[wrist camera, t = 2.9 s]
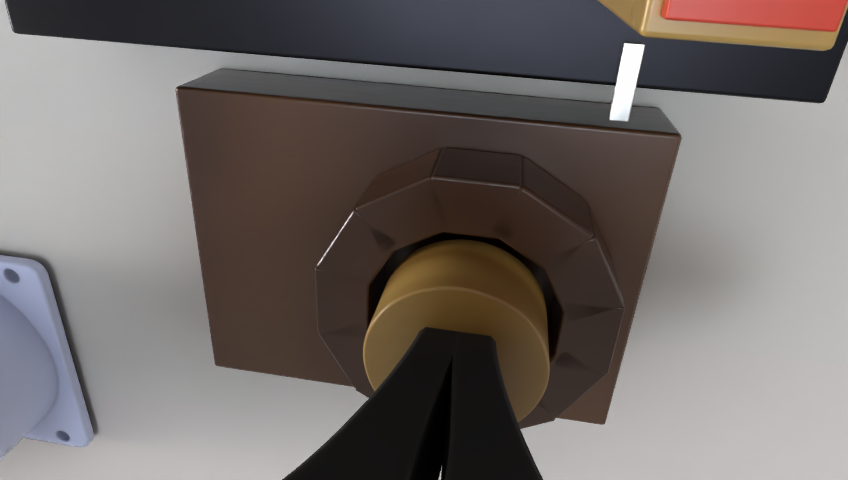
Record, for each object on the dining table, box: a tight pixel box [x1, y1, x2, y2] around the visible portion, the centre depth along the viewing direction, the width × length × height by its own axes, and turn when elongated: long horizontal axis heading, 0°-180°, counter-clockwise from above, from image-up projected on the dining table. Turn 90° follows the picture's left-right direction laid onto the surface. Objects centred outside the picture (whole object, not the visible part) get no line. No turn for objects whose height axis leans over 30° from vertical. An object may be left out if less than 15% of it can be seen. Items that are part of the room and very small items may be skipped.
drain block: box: [176, 69, 682, 429], centre depth 14 cm, size 11×8×4 cm
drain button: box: [363, 239, 550, 422], centre depth 12 cm, size 4×4×2 cm
